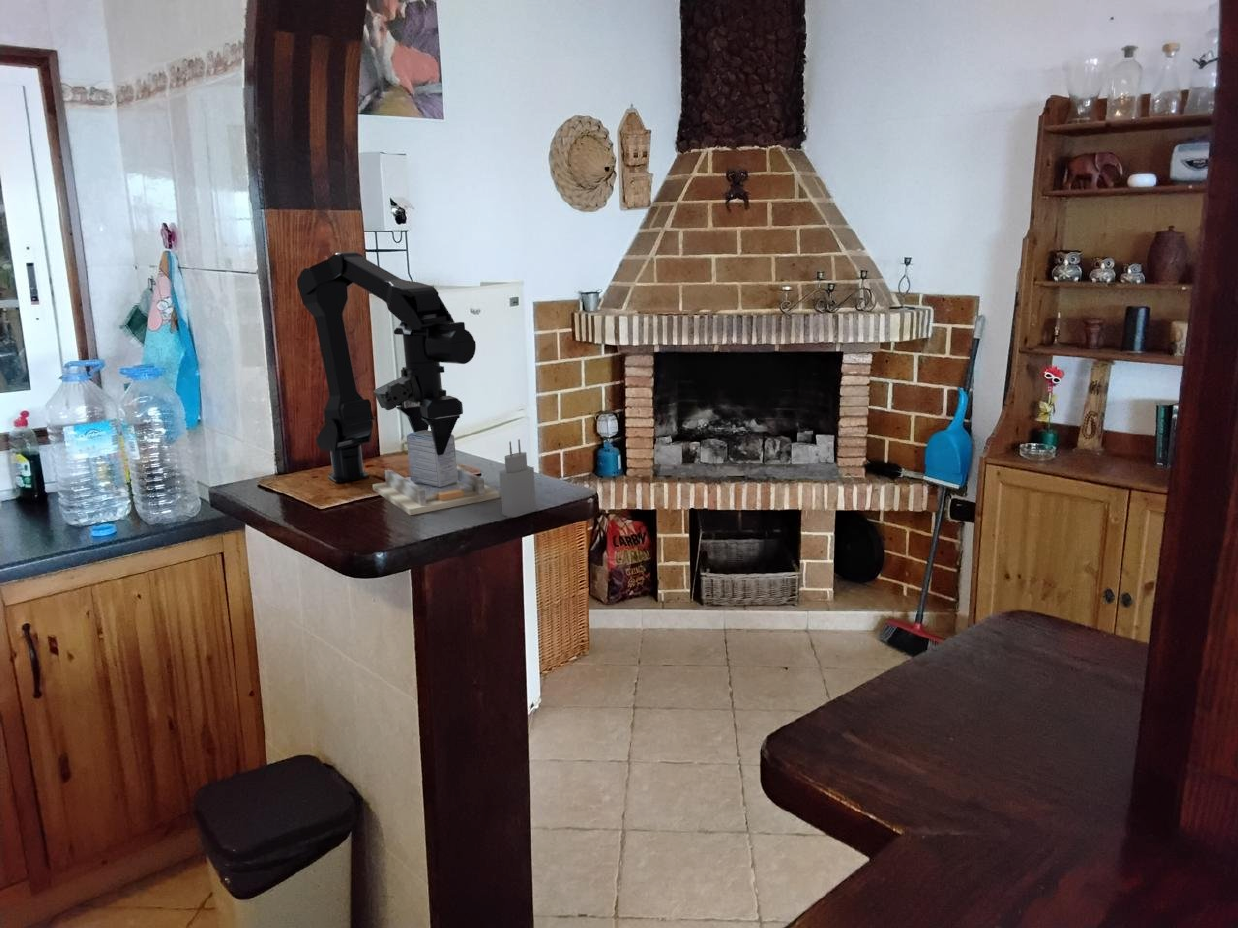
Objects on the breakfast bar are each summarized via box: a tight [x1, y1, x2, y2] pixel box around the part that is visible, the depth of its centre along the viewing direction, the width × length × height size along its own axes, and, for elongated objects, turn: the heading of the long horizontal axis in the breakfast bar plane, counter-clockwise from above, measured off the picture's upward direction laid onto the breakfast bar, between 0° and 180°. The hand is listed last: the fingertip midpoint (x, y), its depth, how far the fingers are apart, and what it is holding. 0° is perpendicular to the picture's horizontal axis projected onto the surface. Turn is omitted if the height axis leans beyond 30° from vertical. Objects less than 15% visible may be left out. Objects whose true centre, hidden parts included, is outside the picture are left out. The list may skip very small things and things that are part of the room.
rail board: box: [372, 465, 501, 516], centre depth 163 cm, size 20×16×4 cm
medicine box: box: [406, 429, 458, 487], centre depth 162 cm, size 8×4×9 cm, turn 52°
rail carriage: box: [404, 476, 473, 501], centre depth 163 cm, size 16×9×1 cm, turn 32°
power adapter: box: [499, 439, 537, 518], centre depth 149 cm, size 3×5×12 cm, turn 136°
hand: (430, 449), depth 162 cm, fingers open, 9 cm apart
